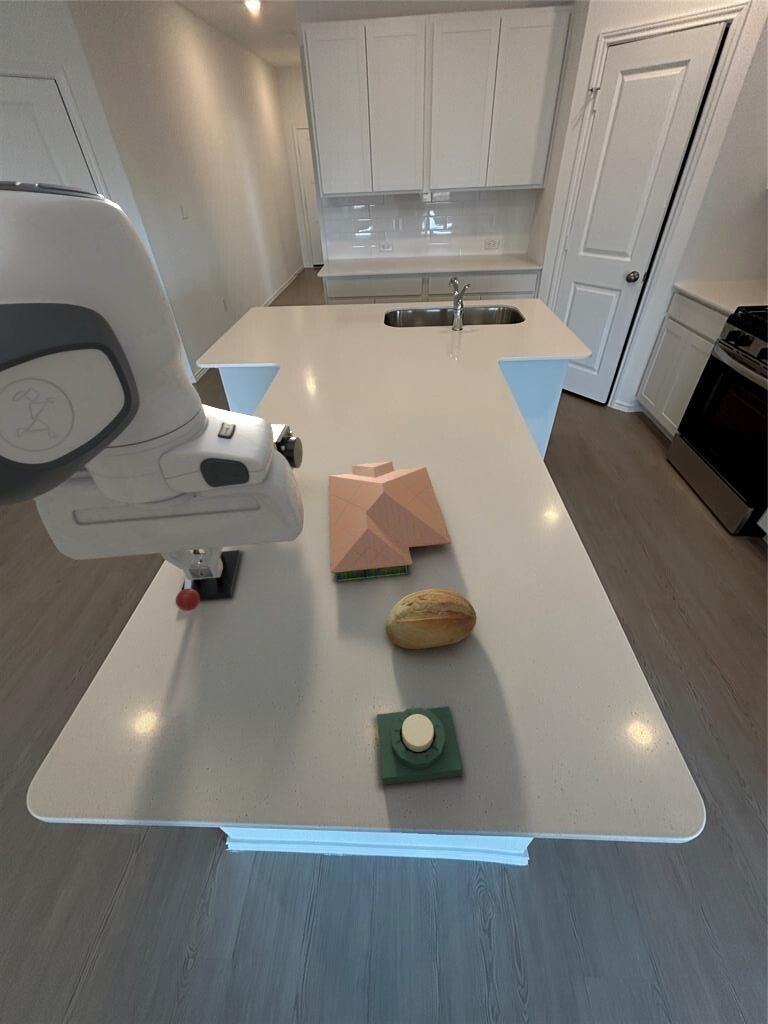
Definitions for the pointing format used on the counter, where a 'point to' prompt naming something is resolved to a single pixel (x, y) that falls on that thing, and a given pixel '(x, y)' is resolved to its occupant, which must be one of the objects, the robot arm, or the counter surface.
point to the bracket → (219, 578)
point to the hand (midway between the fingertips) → (206, 573)
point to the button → (417, 733)
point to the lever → (188, 595)
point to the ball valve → (288, 445)
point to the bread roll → (430, 619)
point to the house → (381, 517)
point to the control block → (417, 765)
